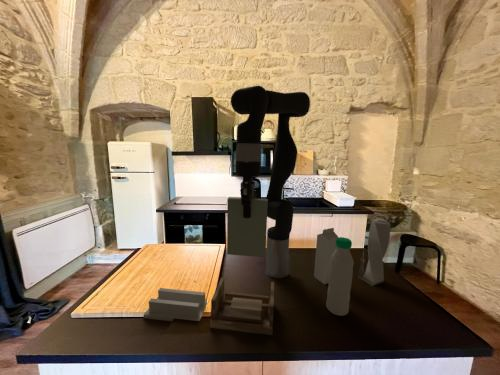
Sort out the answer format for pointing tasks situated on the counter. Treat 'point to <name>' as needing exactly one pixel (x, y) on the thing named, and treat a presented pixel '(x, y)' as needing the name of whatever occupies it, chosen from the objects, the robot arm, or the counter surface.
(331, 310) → the water bottle
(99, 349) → the counter surface
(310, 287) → the counter surface
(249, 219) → the sage panel
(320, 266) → the milk
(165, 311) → the grey stand
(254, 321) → the walnut offcut
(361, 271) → the skyscraper
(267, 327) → the oak rack
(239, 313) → the pine offcut
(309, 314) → the counter surface
